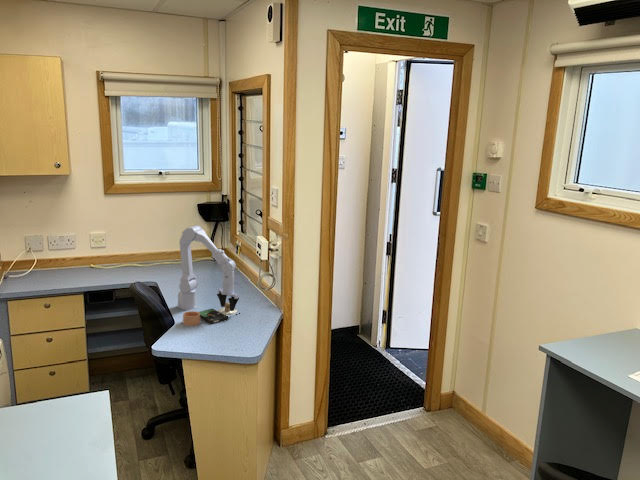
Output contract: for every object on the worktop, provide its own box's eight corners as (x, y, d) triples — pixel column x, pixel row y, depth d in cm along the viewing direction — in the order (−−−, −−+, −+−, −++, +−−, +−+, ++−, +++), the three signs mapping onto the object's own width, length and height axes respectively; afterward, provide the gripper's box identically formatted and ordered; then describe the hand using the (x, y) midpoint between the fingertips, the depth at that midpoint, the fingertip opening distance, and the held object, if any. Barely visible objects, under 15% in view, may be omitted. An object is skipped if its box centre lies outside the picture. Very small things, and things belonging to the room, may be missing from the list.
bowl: (179, 322, 250) (179, 313, 249) (193, 318, 256) (193, 310, 255) (189, 327, 245) (189, 318, 244) (203, 323, 251) (203, 314, 250)
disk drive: (228, 321, 256) (212, 313, 266) (229, 316, 256) (212, 307, 266) (211, 326, 249) (194, 317, 259) (211, 320, 248) (194, 311, 258)
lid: (213, 311, 266) (214, 303, 265) (229, 307, 273) (229, 299, 272) (225, 317, 259) (226, 308, 258) (241, 312, 267) (241, 304, 266)
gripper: (213, 281, 265) (212, 306, 268) (230, 288, 256) (230, 314, 258) (224, 279, 270) (223, 303, 273) (241, 285, 261) (241, 311, 263)
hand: (227, 308), depth 266 cm, fingers open, 7 cm apart
